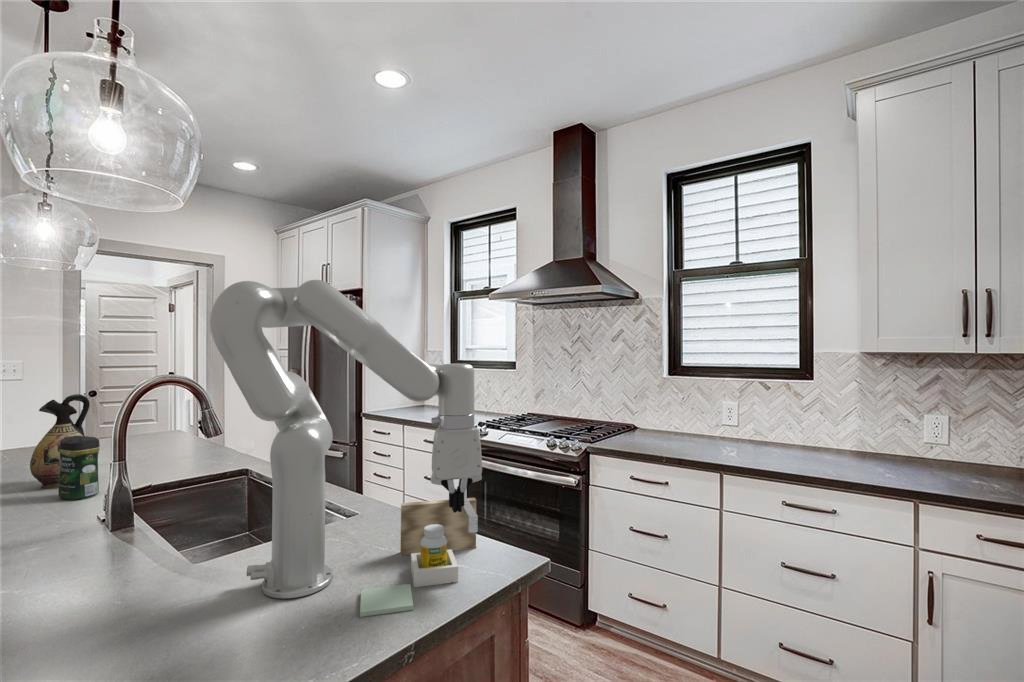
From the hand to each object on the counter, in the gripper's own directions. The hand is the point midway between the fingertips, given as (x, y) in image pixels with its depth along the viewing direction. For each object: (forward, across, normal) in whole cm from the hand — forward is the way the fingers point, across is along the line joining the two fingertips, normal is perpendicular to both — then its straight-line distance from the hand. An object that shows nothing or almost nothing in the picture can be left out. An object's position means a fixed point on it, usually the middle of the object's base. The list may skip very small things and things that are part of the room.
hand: (456, 510), depth 101 cm
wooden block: (+12, -2, +11) cm, 17 cm away
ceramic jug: (+11, -116, +95) cm, 150 cm away
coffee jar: (+11, -104, +78) cm, 130 cm away
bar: (+3, +2, +3) cm, 4 cm away
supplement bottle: (+13, -5, -1) cm, 14 cm away
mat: (+12, -14, -10) cm, 21 cm away
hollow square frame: (+12, -5, -1) cm, 13 cm away
